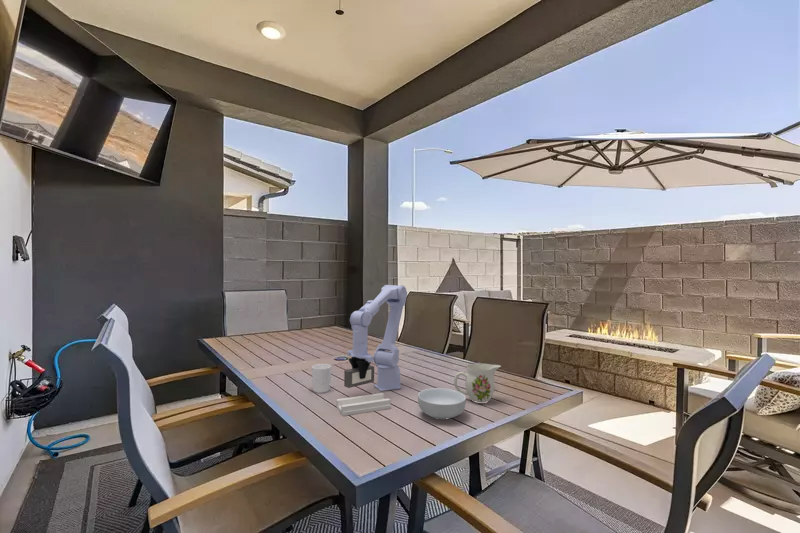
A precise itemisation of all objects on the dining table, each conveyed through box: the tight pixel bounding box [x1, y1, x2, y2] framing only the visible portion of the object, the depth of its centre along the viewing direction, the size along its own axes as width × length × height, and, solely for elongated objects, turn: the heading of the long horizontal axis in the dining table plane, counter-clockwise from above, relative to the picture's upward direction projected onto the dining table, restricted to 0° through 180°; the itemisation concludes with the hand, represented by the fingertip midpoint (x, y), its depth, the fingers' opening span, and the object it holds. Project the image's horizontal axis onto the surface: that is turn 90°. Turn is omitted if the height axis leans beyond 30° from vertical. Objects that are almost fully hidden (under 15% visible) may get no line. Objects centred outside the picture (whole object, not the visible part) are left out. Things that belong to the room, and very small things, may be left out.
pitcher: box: [453, 363, 502, 402], centre depth 147 cm, size 11×18×14 cm, turn 88°
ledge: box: [335, 392, 392, 417], centre depth 139 cm, size 18×9×3 cm, turn 114°
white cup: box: [311, 363, 332, 394], centre depth 158 cm, size 8×8×10 cm
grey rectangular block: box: [343, 364, 375, 389], centre depth 147 cm, size 12×3×6 cm, turn 132°
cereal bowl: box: [417, 387, 467, 420], centre depth 133 cm, size 17×17×7 cm
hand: (359, 377), depth 147 cm, fingers closed on grey rectangular block, 3 cm apart
